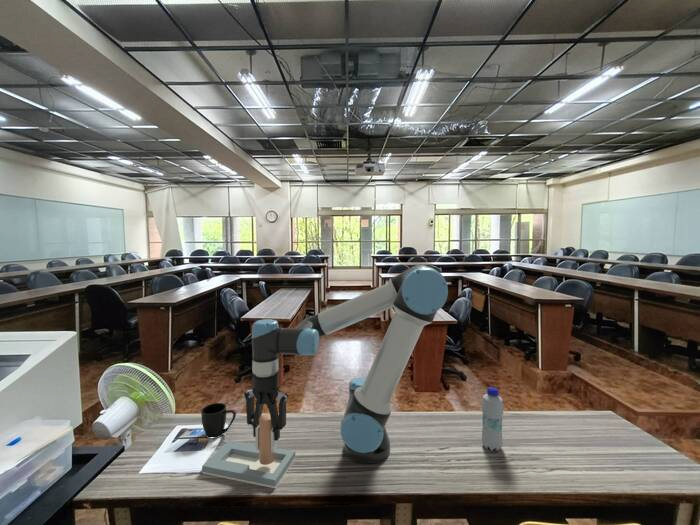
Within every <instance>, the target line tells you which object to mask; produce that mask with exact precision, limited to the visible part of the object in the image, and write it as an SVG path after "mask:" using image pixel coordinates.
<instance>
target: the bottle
mask: <svg viewBox="0 0 700 525" xmlns="http://www.w3.org/2000/svg"><path fill="white" fill-rule="evenodd" d="M481 410H482V428H481V430H482V431H481V443H482V445H483V446H484V448H485V449H488V448H489V449H490V451H493V452H494V449H495V451H496V452H499V451H500V450H501V449H502V446H503V414H504V411H505V410H504V402H503V397H501V396H499V390H498V388H497V387H494V386H489V387H487V390H486V393H485V394H483V395H482V400H481Z"/></svg>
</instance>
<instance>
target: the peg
mask: <svg viewBox="0 0 700 525" xmlns="http://www.w3.org/2000/svg"><path fill="white" fill-rule="evenodd" d="M272 429H273V426H272V422H271V417H270V413H266V414H263V415H261V416H260V417H259V462H260V463H261V464H263V465H268V464H271V463H272V462H273V461H274V459H275V458H274V452H273V453H272V452H271V430H272Z"/></svg>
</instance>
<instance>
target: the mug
mask: <svg viewBox="0 0 700 525" xmlns="http://www.w3.org/2000/svg"><path fill="white" fill-rule="evenodd" d="M228 413H231V414H232V419H231V421H230V423H229V424H228V426H227V427H226V428H225V426H226V420H227V414H228ZM236 416H237V411H236V410H235V409H227V405H226V404H225V403H221V402H215V403H211V404H207V405H206V406H204V407H203V408H202V409H201V425H202V428H203V431H204V434H205V436H208V437H217V438H219V437H221V436H222V435H224V434H225V433H227V432H228V431H229V429H230V428H231V426H232V424H233V422H234V420H235V419H236ZM218 436H219V437H218Z"/></svg>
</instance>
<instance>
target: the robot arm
mask: <svg viewBox="0 0 700 525" xmlns="http://www.w3.org/2000/svg"><path fill="white" fill-rule="evenodd" d="M448 288H449V287H448V283H447V281H446V278H445V277H444V276H443V274H442V273H440V271H438V270H436V269H434V268H433V267H431V266H429V265H425V264H415V265H414V266H411V267H409V268H408V269H406V270H404V271H402V272H401V273H399V274H398V275H395V276H392V277H390V278H389V280H388V282H387V283H386V284H383V285H380V286H378V287H376V288H373V289H372V290H369V291H367V292H365V293H363V294H360V295H358V296H355V297H354V298H352V299H349V300H345V301H344V302H342V303H340V304H337V305H335V306H333V307H329V308H328V309H326V310H323V311H321V312H319V313H318V314H317V313H316V314H314V315H311V316H307V317H305V318H303V319H302V321H300V322H299V323H298V324H297V325H296V326H295V327H279V321H277V319H271V318H264V319H259V320H256V321H255V322H253V324H252V327H251V347H252V348H251V349H252V353H251V355H252V357H251V358H252V360H251V361H252V362H251V363H252V364H251V367H252V369H251V370H252V372H251V373H252V387H253V388H249V389H248V390H246V391H245V392H244V398H245V401H246V402H245V403H246V405H245V406H246V423H247V425H248V426H252V428H253V429H252V432H253V437H254V438H255V445H256V450H258V449H259V417H260V416H262V414H263V411H264V410H263V409H264V405H266V407H267V409H268V412H269V414H270V417H271V422H272V426H273V429H272V430H271V452H272V453H273V452H274V451H275V450H276V449H277V448H279V447H278V446H279V445H278V444H279V443H278V441H279V439H280V437H281V430H283V429H284V428H285V427H286V425H287V402H288V401H287V400H288V398H289V394H288V393H282V392H281V390H280V388H279V385H280V377H279V376H280V374H279V373H280V372H279V369H280V368H279V355H293V356H302V357H303V356H304V357H305V356H314V355H315V356H316V354H317V353H318V350H319V348H320V347H319V346H320V339H321V338H323V337H325V336H328V335H330V334H332V333H335V332H337V331H339V330H341V329H344V328H347V327H349V326H351V325H354V324H356V323H359V322H361V321H363V320H365V319H369V318H371V317H373V316H375V315H377V314H379V313H382V312H384V311H387V310H389V309H391V308H393V309H394V313H393V317H392V318H391V320H390V323H389V326H388V327H387V331H386V332H385V335H384V337H383V339H382V341H381V344H380V346H379V348H378V350H377V352H376V355H375V356H374V359H373V361H372V365H371V366H370V368H369V371H368V373H367V376H361V377H356V378H352V379H351V380H350V381H349V382H348V383H349V384H348V392H349V393H348V400H347V405H346V407H345V411H344V415H343V417H342V420H341V422H340V436H341V438H342V440H343V444H344V447H343V448H344V453H345V455H346V456H347V457H349V459H351V460H353V461H355V462H357V463H362V464H375V463H378V462H379V463H380V462H381V461H383V460H385V459H386V458H387V457H388V456H389V455H390V453H391V441H390V438H389V435H388V432H387V428H386V424H387V422H388V420H389V417H390V416H391V414H392V411H393V405H392V404H391V401H392V398H393V395H394V393H395V391H396V389H397V387H398V384H399V382H400V380H401V378H402V376H403V373H404V371H405V368H406V366H407V364H408V362H409V360H410V358H411V355H412V353H413V351H414V349H415V347H416V344H417V342H418V340H419V338H420V336H421V334H422V331H423V329H424V328H425V326H427V325H429V324H432V323H433V321H434V320H435V317H436V315H437V313H438V312H439V311H440V310H441V308H443V307H444V305H445V304H446V302H447V299H448V295H449V289H448ZM277 398H278V400H277ZM255 400H256V401H255ZM277 403H278V406H277Z"/></svg>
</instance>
